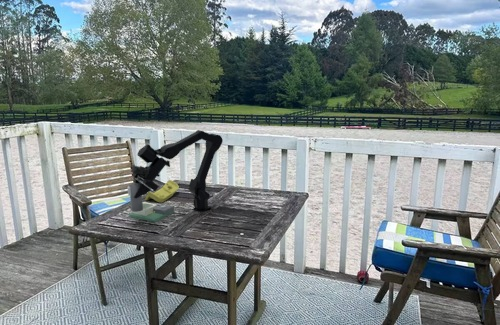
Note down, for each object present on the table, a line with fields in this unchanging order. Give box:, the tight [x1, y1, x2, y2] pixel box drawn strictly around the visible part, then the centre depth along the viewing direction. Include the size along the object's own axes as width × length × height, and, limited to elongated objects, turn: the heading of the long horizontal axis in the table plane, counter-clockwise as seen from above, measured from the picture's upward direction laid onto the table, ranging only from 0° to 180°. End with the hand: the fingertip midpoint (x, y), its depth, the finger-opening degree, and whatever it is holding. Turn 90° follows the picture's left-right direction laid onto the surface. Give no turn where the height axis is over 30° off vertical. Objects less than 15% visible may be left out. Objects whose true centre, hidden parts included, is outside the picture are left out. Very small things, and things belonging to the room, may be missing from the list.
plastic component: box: [144, 179, 180, 204], centre depth 207 cm, size 20×7×10 cm
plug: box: [127, 182, 143, 212], centre depth 166 cm, size 6×5×12 cm
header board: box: [128, 201, 175, 223], centre depth 180 cm, size 16×14×4 cm
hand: (133, 196), depth 165 cm, fingers closed on plug, 5 cm apart
